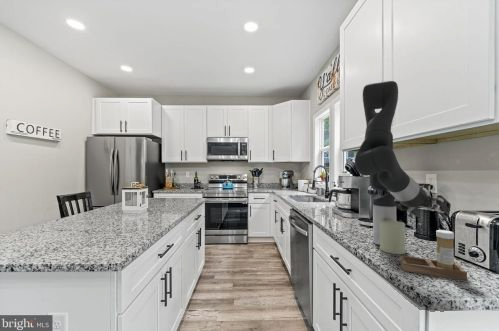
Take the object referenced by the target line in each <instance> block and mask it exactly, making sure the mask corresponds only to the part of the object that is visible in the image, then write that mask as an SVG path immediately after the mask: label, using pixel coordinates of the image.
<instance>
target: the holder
mask: <svg viewBox="0 0 499 331" xmlns="http://www.w3.org/2000/svg"><path fill="white" fill-rule="evenodd" d="M398 255H399V264H400V266H401V269H402V271H403V272H408V273H415V274H420V275H421V274H422V275H426V276H427V275H429V276H434V277H435V276H436V277H442V278H449V279H456V280H463V281H468V272H467V271H466V269H464V268H463V267H462V266H461V265H460V264H458V262H456V261H455V262H454V264H453V269H446V268H439V267H437V259H430V258H423V257H415V256H408V255H407V256H406V255H401V254H398Z"/></svg>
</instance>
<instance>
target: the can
mask: <svg viewBox="0 0 499 331" xmlns="http://www.w3.org/2000/svg"><path fill="white" fill-rule="evenodd" d="M405 234H406V223H404V222H403V221H398V220H396V221H391V220H382V221H380V245H379V250H380V251H382V252H384V253H388V254H393V255H403V254H406V244H405V243H406V240H405V239H406V235H405Z"/></svg>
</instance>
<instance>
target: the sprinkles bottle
mask: <svg viewBox="0 0 499 331" xmlns="http://www.w3.org/2000/svg"><path fill="white" fill-rule="evenodd" d="M435 232H436V233H435V234H436V260H437V267H439V268H446V269H453V264H454V261H455V260H454V259H455V256H454V254H455V253H454V250H455V249H454V240H455V233H454V231H450V230H446V229H438V230H437V229H436V231H435Z"/></svg>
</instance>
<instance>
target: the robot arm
mask: <svg viewBox="0 0 499 331" xmlns="http://www.w3.org/2000/svg"><path fill="white" fill-rule="evenodd" d="M398 100H399V86H398V83H397V82H396V81H394V80H386V81H380V82H373V83H372V82H371V83H368V84H366V85H364V86H363V89H362V102H363V110H364V117H365V123H366V124H365V125H366V126H365V127H366V128H365V132H364V133H365V134H364V140H363V141H362V143H361V145H360V146H359V148H358V150H357V152H356V154H355V159H354V166H355V170H356V171H357V172H358V173H359V174H360V175H362V176H366V177H367V176H368V177H369V185H370V188H371V189H372V190H374V191H375V190H376V191H387V193H385V194H384V195H381V196H377V197H374V198H373V200H372V217H373V218H372V243H374V244H376V245H378V246H380V221H382V220H391V221H397V208H398V209H399V210H400V211H402V212H405V211H407V212H408V213H411V214H412V215H413V216H414V217H419V216H420V211H419V209H426V210H429V211H432V212H434V211H436V212H439V214H441V215H442V217H443V218H445V219H446V218H447V219H448V218H449V217H450V212H451V206H452V205H451V204H452V203H451V202H450V201H448V200H447V199H446V198H445V197H444V196H442V195H440V194H439V195H436V197H432V196H429V195H428V193H427V191H426V190H425V189H424V187H422V186H421V185H420V184H419V183H418V182H417V180H415V179H414V178H413V177H411V176H410V175H408V174H407V173H406V172H405V170H404V169H402V168H401V165H400V164H399V161H398V160H397V156H396V153H395V151H394V136H393V133H392V124H393V121H394V117H395V113H396V109H397V105H398ZM376 110H380V111H379V112H378V113H376ZM438 207H439V208H438Z"/></svg>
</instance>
